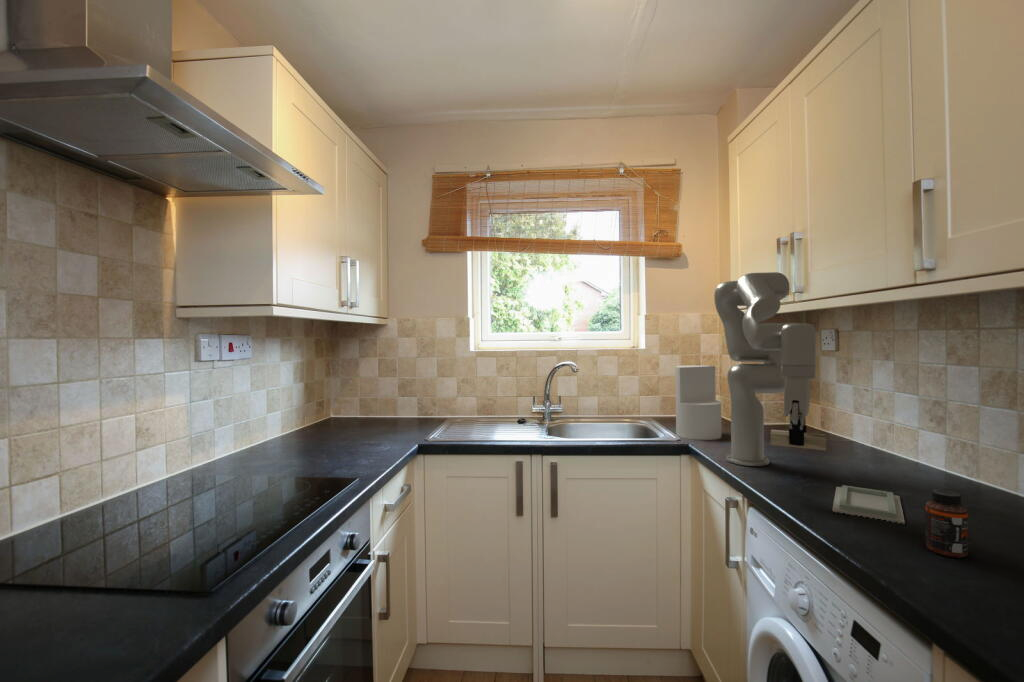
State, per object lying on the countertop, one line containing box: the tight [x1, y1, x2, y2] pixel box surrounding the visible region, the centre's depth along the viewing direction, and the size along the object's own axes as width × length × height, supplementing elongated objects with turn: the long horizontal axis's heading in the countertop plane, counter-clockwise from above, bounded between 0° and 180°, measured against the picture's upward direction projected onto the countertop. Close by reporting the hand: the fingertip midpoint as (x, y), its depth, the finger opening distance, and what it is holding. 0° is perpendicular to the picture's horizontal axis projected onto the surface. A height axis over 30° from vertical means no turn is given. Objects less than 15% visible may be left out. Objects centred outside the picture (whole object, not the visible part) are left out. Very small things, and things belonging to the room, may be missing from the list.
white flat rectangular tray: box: [832, 484, 906, 525], centre depth 115 cm, size 20×13×2 cm, turn 143°
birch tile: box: [769, 429, 827, 451], centre depth 122 cm, size 5×12×3 cm, turn 59°
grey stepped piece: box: [675, 364, 722, 441], centre depth 194 cm, size 17×17×28 cm
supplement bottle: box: [925, 488, 969, 559], centre depth 90 cm, size 6×6×11 cm
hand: (797, 441), depth 122 cm, fingers closed on birch tile, 5 cm apart
